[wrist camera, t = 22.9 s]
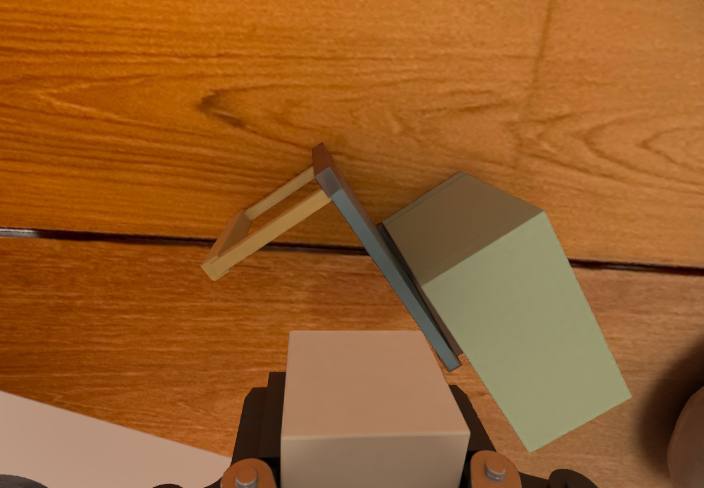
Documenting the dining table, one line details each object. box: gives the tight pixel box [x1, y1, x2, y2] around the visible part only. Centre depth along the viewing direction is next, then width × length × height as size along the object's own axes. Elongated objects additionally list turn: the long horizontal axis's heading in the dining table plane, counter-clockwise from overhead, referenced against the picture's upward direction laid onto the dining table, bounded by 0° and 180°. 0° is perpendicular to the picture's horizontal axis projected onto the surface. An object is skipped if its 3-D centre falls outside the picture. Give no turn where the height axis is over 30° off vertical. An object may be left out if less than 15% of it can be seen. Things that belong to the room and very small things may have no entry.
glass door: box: [200, 143, 462, 373], centre depth 29 cm, size 9×15×12 cm, turn 33°
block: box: [281, 330, 470, 488], centre depth 12 cm, size 5×5×5 cm
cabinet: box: [376, 171, 632, 453], centre depth 31 cm, size 10×16×13 cm, turn 33°
